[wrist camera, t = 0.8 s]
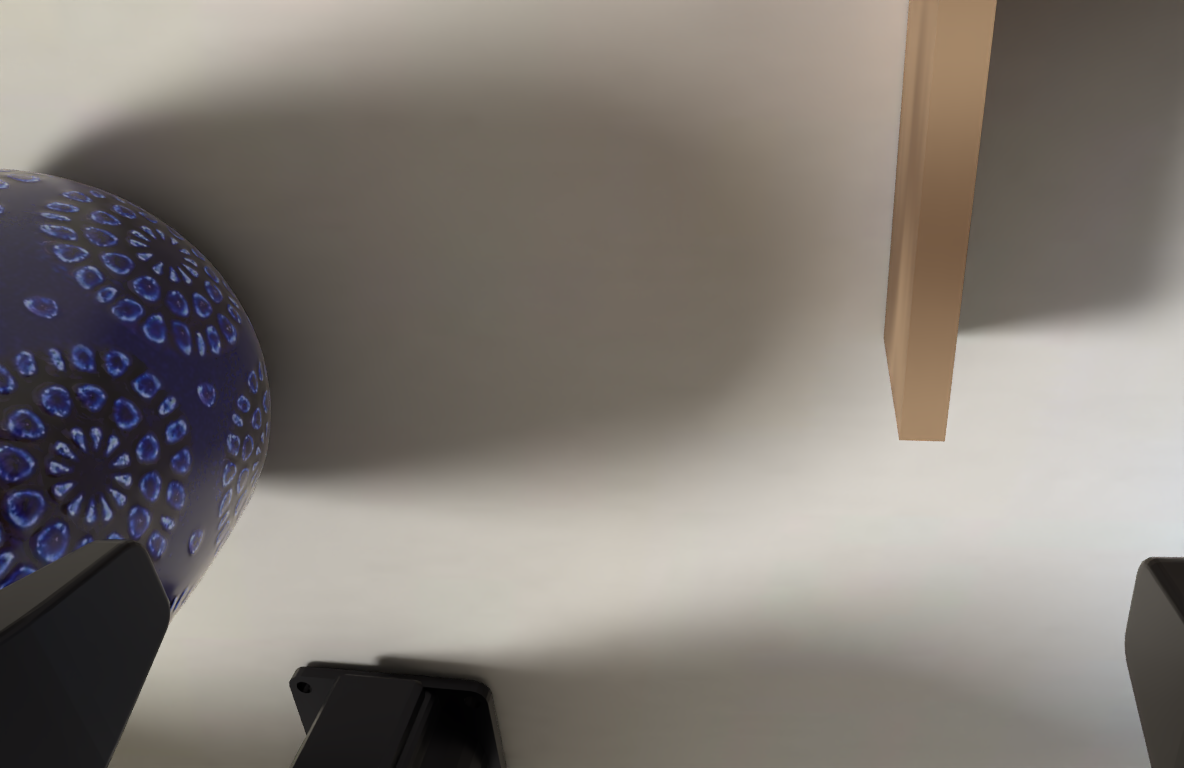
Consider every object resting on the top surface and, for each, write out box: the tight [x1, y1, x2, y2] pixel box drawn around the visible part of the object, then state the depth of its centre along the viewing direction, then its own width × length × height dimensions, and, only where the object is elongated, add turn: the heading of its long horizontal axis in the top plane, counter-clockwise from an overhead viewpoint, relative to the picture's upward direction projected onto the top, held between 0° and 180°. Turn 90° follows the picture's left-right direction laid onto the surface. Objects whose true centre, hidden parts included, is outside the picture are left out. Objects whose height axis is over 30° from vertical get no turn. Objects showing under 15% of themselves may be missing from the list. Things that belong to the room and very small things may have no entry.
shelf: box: [884, 0, 997, 441], centre depth 16 cm, size 10×16×4 cm, turn 95°
